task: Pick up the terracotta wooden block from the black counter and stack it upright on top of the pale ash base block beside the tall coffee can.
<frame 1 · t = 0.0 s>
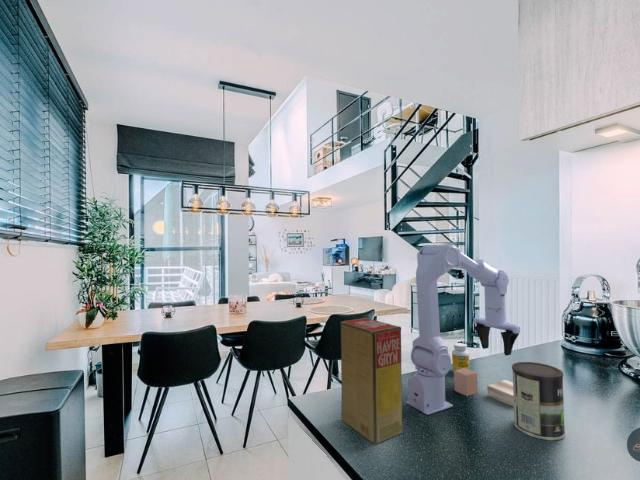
hand: (496, 351, 106), 10 cm above the kitchen counter, tool pointing down, fingers open, 7 cm apart
terracotta block: (465, 391, 101), on the kitchen counter
food packaging: (371, 427, 83), on the kitchen counter
coffee can: (538, 429, 80), on the kitchen counter
ash base: (509, 398, 96), on the kitchen counter
supplement bottle: (461, 373, 116), on the kitchen counter
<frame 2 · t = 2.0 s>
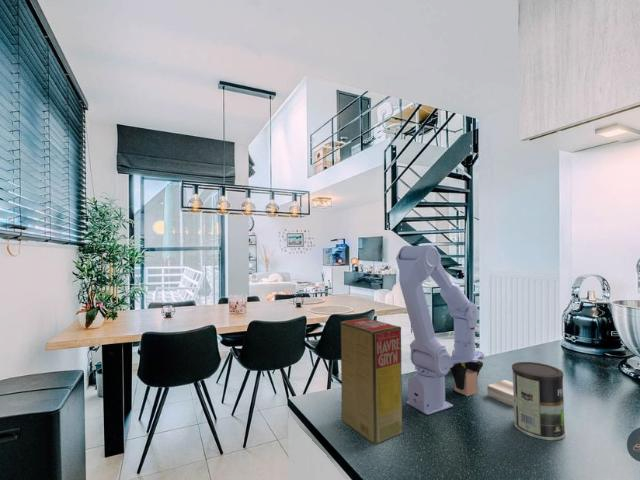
hand: (465, 386, 101), 1 cm above the kitchen counter, tool pointing down, fingers closed on terracotta block, 4 cm apart
terracotta block: (465, 391, 101), on the kitchen counter, touching gripper
everything else where it was.
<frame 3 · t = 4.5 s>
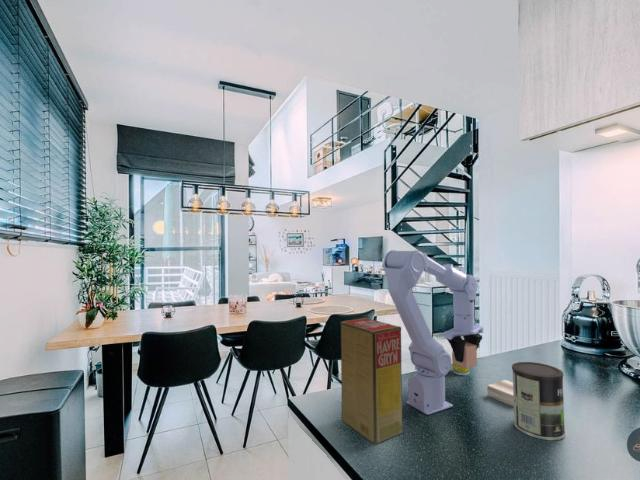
hand: (465, 359, 101), 9 cm above the kitchen counter, tool pointing down, fingers closed on terracotta block, 4 cm apart
terracotta block: (465, 364, 101), point 8 cm above the kitchen counter, touching gripper
everything else where it was.
when the fingers open (6 cm above the kitchen counter, at t = 7.1 s): terracotta block drops 1 cm, resting on ash base.
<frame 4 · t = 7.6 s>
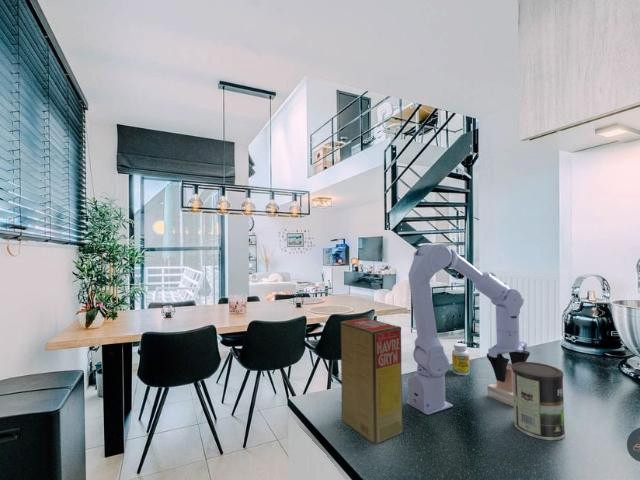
hand: (509, 378, 96), 6 cm above the kitchen counter, tool pointing down, fingers open, 7 cm apart
terracotta block: (509, 387, 96), point 3 cm above the kitchen counter, touching ash base
everything else where it was.
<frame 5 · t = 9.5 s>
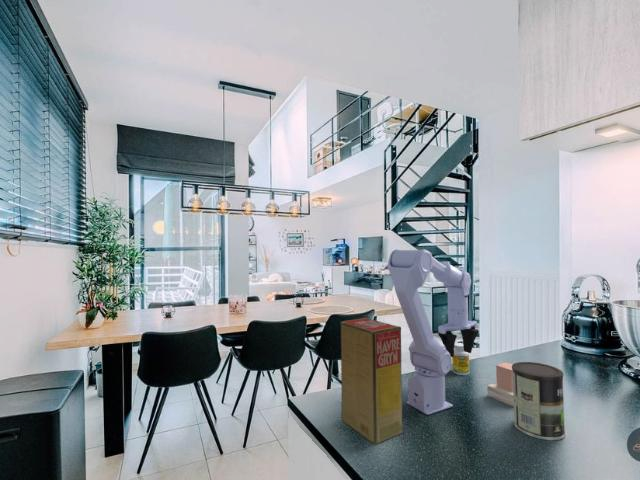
hand: (458, 354, 103), 10 cm above the kitchen counter, tool pointing down, fingers open, 7 cm apart
nothing on the kitchen counter moved.
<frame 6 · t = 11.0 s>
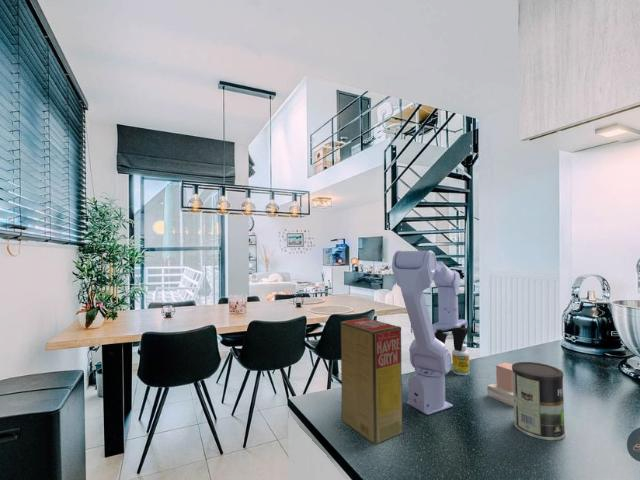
hand: (449, 352, 105), 10 cm above the kitchen counter, tool pointing down, fingers open, 7 cm apart
nothing on the kitchen counter moved.
at the end: terracotta block 0.0 cm off-centre on the ash base, point 3.0 cm above the ash base's base; terracotta block tilted 0°; the gripper is holding nothing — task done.
